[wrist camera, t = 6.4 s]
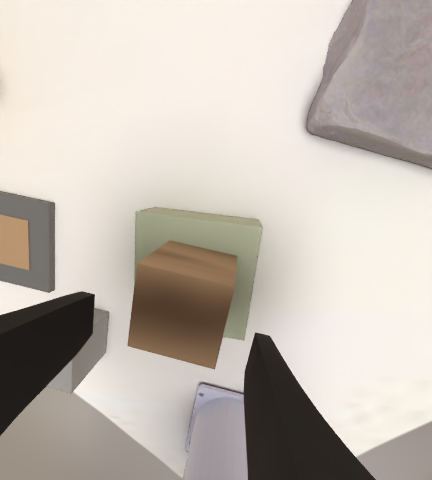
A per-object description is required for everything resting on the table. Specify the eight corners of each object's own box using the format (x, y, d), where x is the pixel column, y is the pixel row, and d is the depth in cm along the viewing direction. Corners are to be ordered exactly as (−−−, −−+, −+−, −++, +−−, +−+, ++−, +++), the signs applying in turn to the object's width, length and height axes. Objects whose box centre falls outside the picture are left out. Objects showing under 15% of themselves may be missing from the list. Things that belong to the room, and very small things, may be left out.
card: (54, 289, 22) (48, 293, 22) (-25, 270, 23) (-33, 273, 22) (54, 203, 20) (47, 203, 19) (-34, 184, 21) (-43, 183, 20)
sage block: (244, 311, 21) (244, 340, 17) (153, 297, 22) (134, 321, 18) (258, 219, 19) (262, 227, 15) (157, 206, 19) (135, 211, 15)
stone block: (334, 9, 16) (294, 143, 16) (383, -86, 11) (323, 108, 12) (493, 52, 16) (446, 186, 16) (612, -25, 11) (539, 169, 12)
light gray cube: (106, 351, 23) (71, 393, 19) (63, 340, 24) (18, 378, 19) (109, 311, 22) (72, 345, 17) (64, 300, 23) (15, 330, 18)
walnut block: (222, 316, 17) (214, 369, 12) (160, 300, 17) (127, 345, 12) (237, 255, 15) (234, 287, 11) (169, 240, 16) (137, 263, 11)
